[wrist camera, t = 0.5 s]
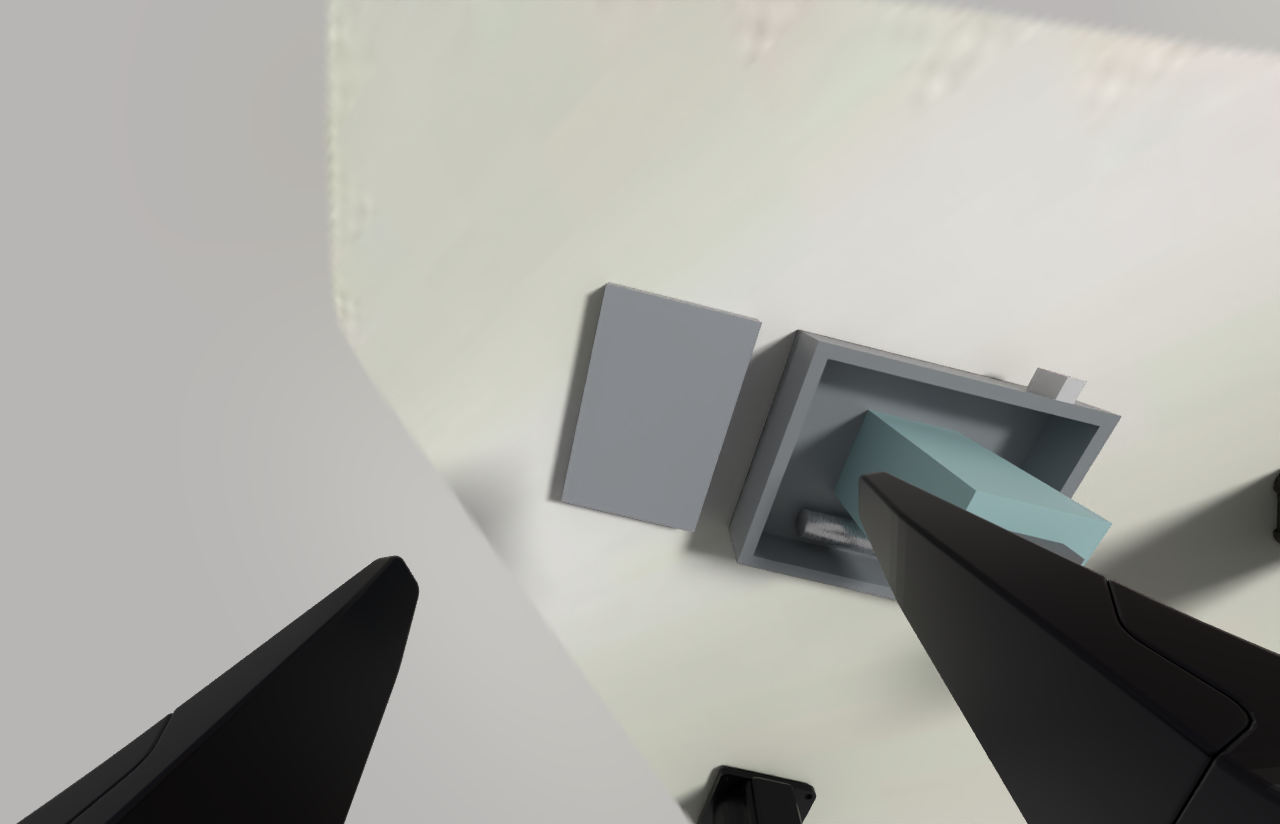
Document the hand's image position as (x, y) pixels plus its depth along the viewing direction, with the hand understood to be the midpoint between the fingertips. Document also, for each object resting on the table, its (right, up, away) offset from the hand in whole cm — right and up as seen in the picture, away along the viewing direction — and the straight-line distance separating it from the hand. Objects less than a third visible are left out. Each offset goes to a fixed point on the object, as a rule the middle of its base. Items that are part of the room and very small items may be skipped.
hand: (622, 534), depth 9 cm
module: (+13, 0, +14) cm, 19 cm away
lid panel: (+1, +2, +14) cm, 14 cm away
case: (+13, 0, +15) cm, 19 cm away
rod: (+12, -4, +15) cm, 20 cm away
